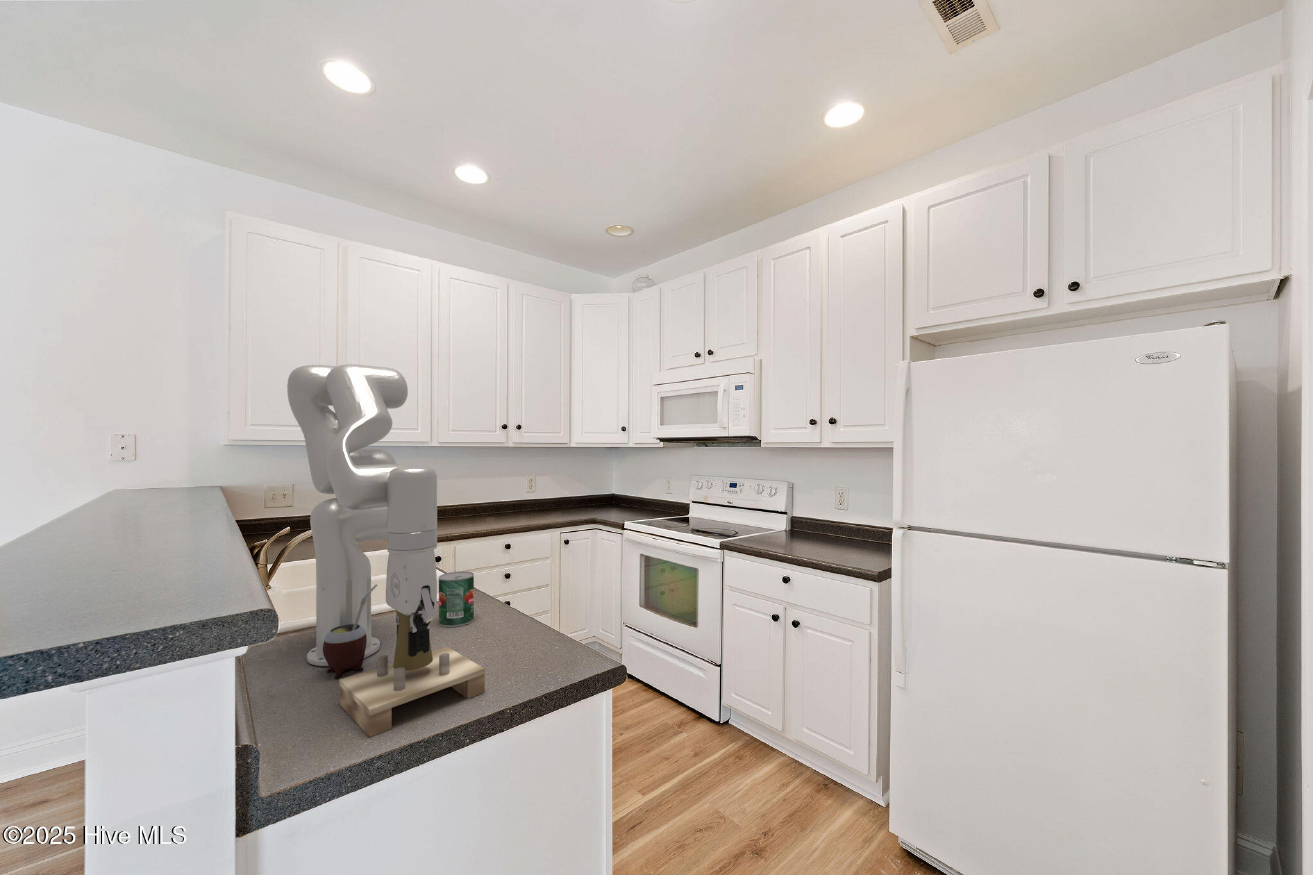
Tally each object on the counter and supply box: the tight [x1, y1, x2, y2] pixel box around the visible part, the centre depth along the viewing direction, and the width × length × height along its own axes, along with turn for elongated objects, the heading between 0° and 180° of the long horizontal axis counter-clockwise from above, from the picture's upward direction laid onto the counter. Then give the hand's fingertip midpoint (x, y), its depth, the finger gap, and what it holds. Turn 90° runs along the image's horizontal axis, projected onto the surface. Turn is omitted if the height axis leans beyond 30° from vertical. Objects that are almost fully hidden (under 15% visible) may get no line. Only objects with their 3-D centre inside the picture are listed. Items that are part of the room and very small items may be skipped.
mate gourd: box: [323, 584, 378, 680], centre depth 97 cm, size 8×8×15 cm
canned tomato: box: [438, 570, 475, 628], centre depth 122 cm, size 8×8×11 cm
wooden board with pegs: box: [338, 646, 486, 738], centre depth 86 cm, size 14×18×7 cm
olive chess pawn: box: [392, 607, 433, 671], centre depth 86 cm, size 6×6×11 cm
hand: (412, 648), depth 86 cm, fingers closed on olive chess pawn, 4 cm apart
